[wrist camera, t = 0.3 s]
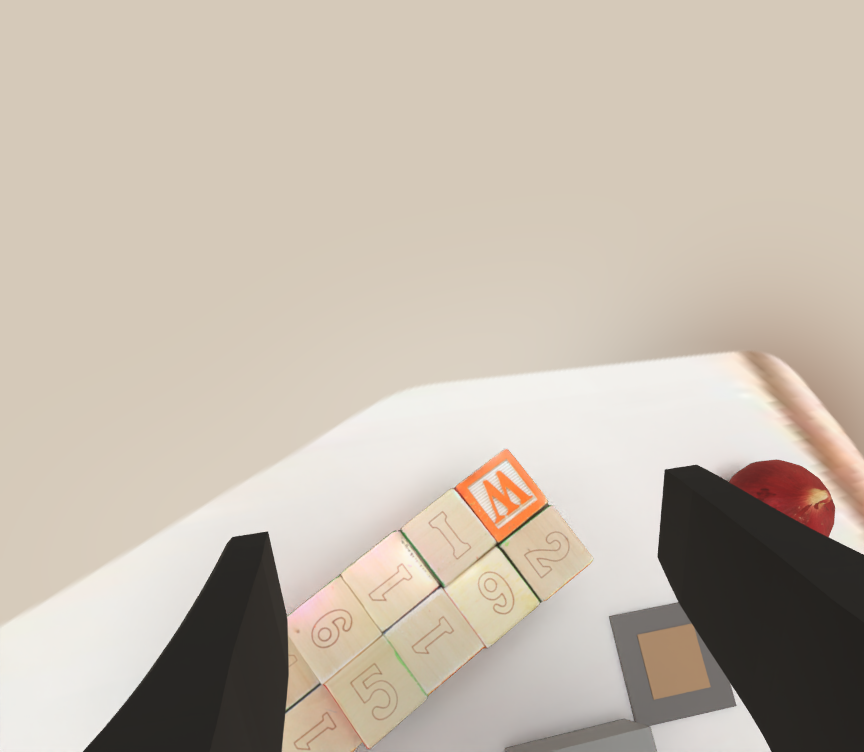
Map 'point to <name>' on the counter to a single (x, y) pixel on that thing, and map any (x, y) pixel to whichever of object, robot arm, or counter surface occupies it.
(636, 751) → the slate base block
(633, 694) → the card
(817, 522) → the onion
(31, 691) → the counter surface
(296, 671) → the stack of blocks
